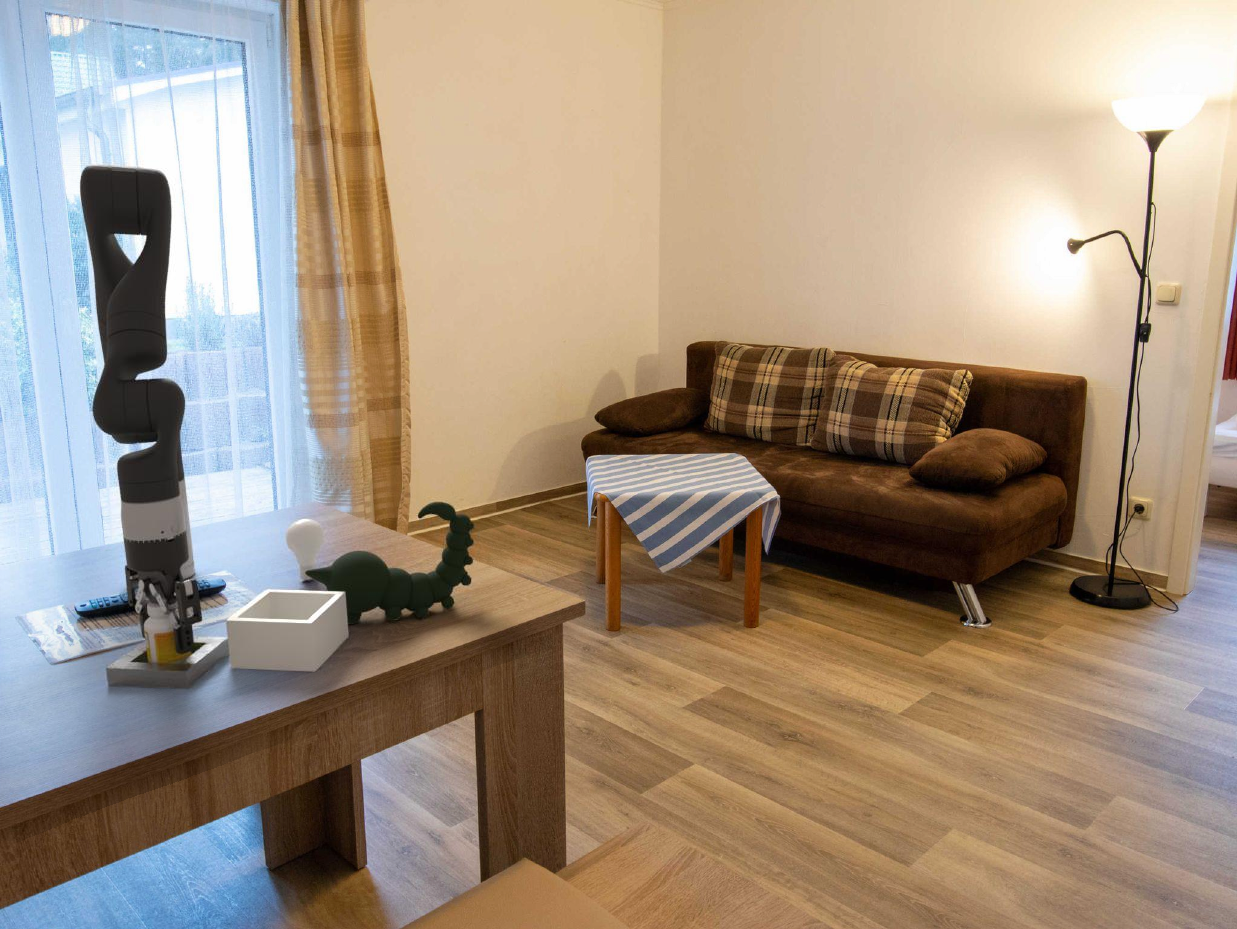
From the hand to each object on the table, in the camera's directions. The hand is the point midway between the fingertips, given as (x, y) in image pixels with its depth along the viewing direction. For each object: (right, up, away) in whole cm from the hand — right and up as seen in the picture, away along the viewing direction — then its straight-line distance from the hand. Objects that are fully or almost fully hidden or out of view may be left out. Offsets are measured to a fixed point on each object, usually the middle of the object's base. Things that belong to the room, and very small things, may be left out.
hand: (168, 644), depth 129 cm
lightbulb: (+8, +4, +35) cm, 36 cm away
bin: (+15, -2, +6) cm, 16 cm away
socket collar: (0, -4, +1) cm, 4 cm away
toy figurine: (+26, +1, +19) cm, 33 cm away
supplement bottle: (0, -4, +1) cm, 4 cm away
